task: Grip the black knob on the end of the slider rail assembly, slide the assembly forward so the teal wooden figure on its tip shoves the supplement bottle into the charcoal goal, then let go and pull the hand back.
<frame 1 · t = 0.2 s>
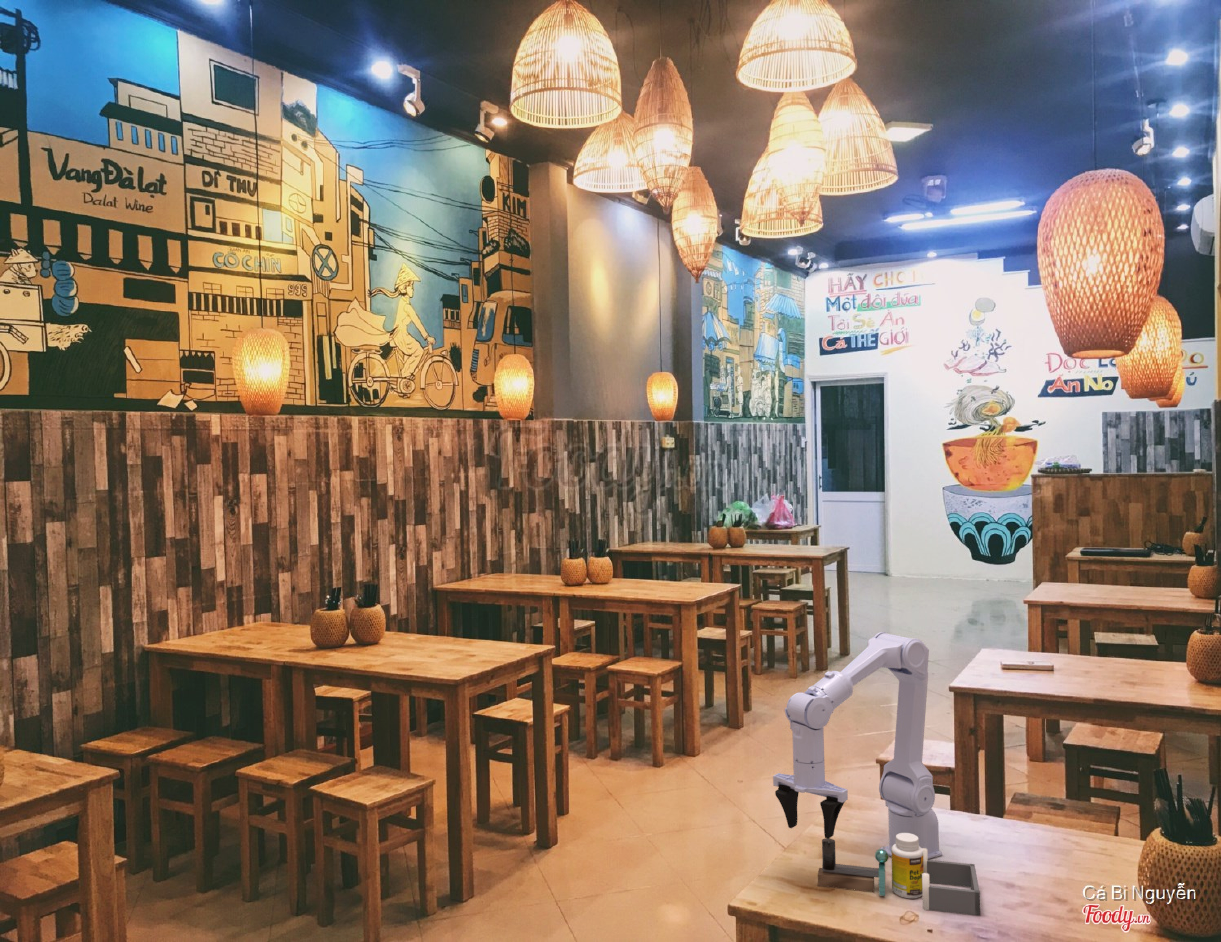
hand: (810, 831, 170), 10 cm above the table, tool pointing down, fingers open, 7 cm apart
goal: (949, 897, 164), on the table
supplement bottle: (908, 893, 166), on the table
rod guide: (829, 883, 170), on the table
slider rail assembly: (855, 863, 169), point 4 cm above the table, slide at 0.0 cm
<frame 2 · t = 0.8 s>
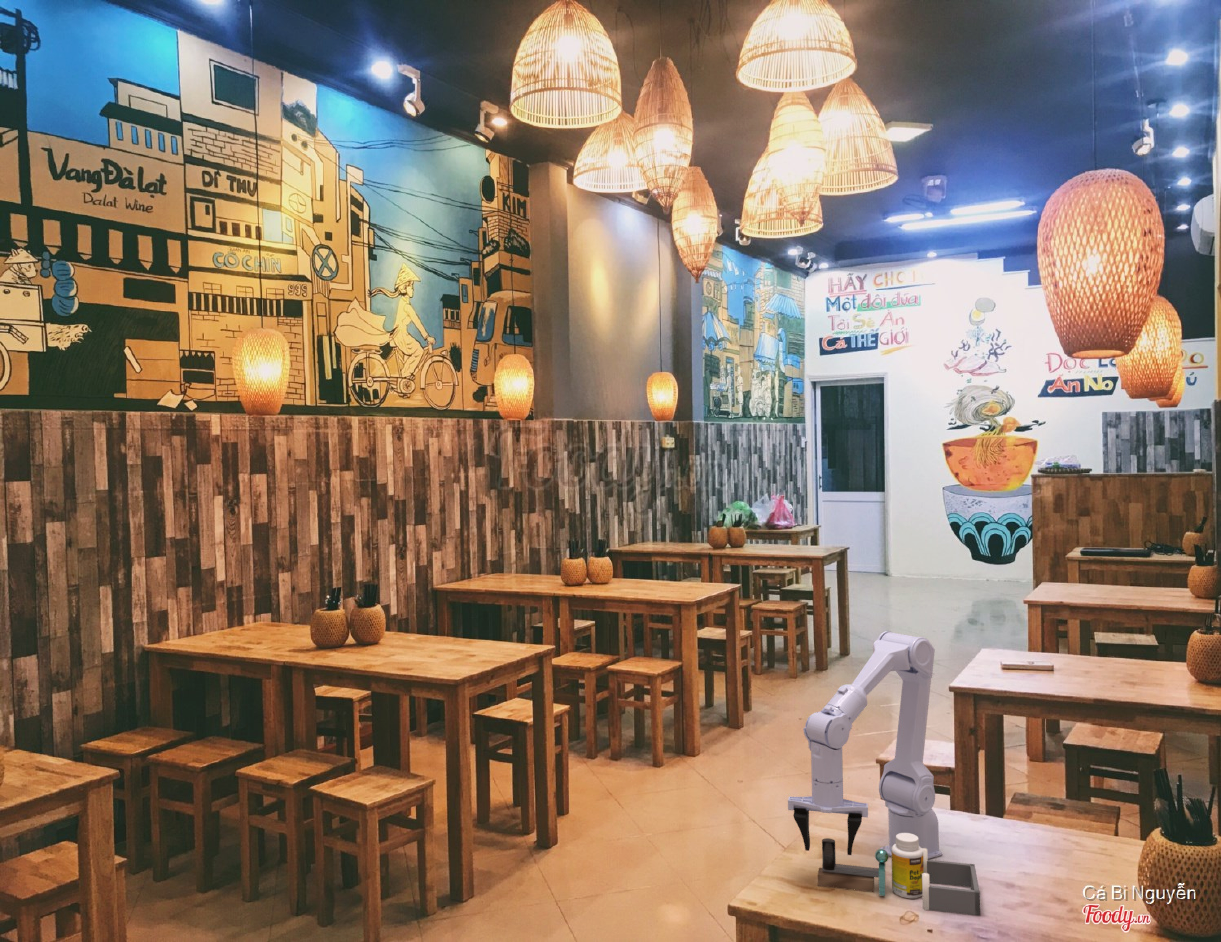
hand: (828, 850, 170), 6 cm above the table, tool pointing down, fingers open, 7 cm apart
nothing on the table moved.
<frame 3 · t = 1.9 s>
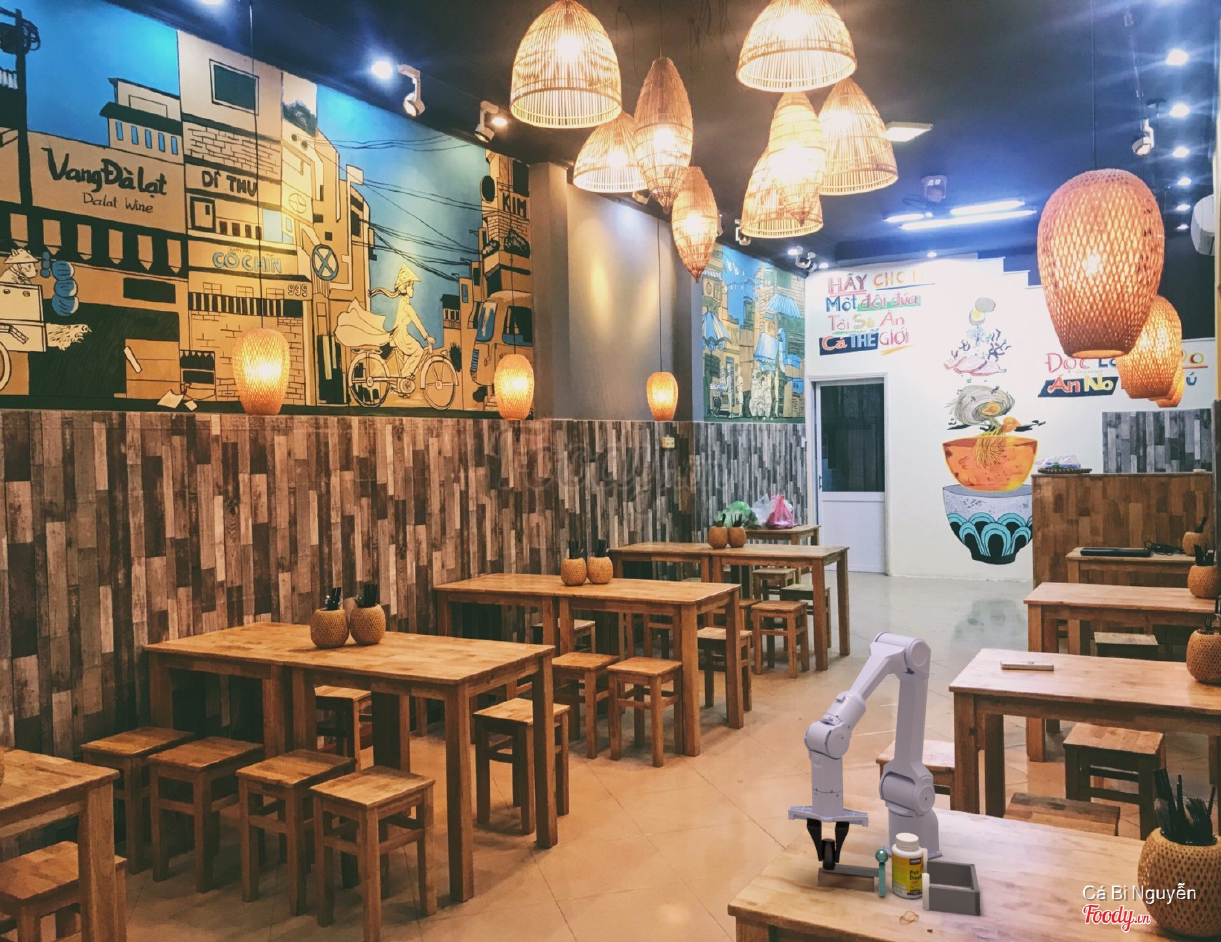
hand: (828, 860, 170), 4 cm above the table, tool pointing down, fingers closed on slider rail assembly, 2 cm apart
slider rail assembly: (855, 863, 169), point 4 cm above the table, slide at 0.0 cm, touching gripper
everything else where it was.
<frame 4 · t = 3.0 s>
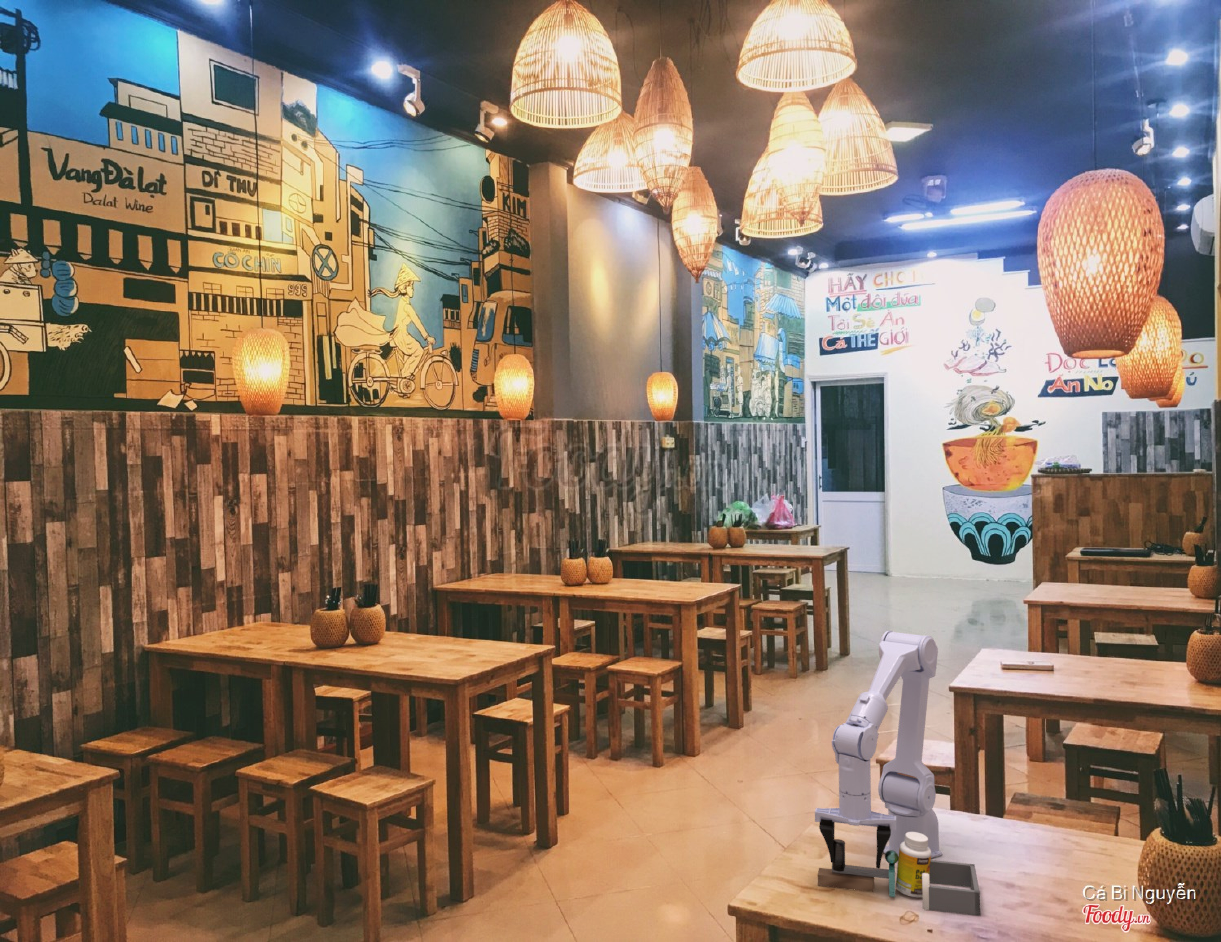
hand: (855, 863, 169), 4 cm above the table, tool pointing down, fingers open, 7 cm apart
supplement bottle: (911, 892, 166), on the table, touching slider rail assembly
slider rail assembly: (864, 864, 168), point 4 cm above the table, slide at 1.9 cm, touching supplement bottle, gripper
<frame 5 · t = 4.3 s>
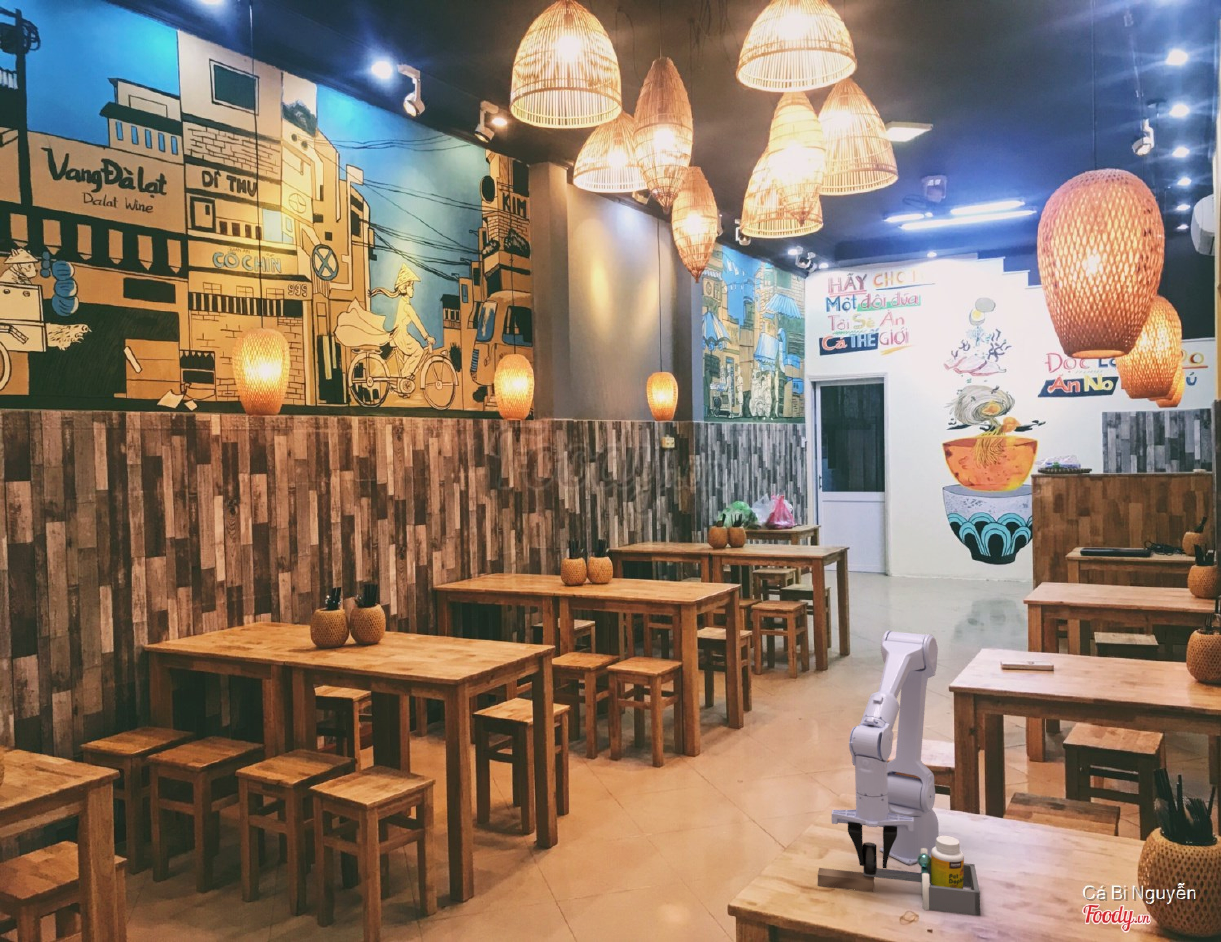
hand: (873, 864, 168), 4 cm above the table, tool pointing down, fingers open, 3 cm apart
supplement bottle: (946, 897, 164), on the table, touching slider rail assembly
slider rail assembly: (896, 868, 166), point 4 cm above the table, slide at 7.4 cm, touching supplement bottle, gripper
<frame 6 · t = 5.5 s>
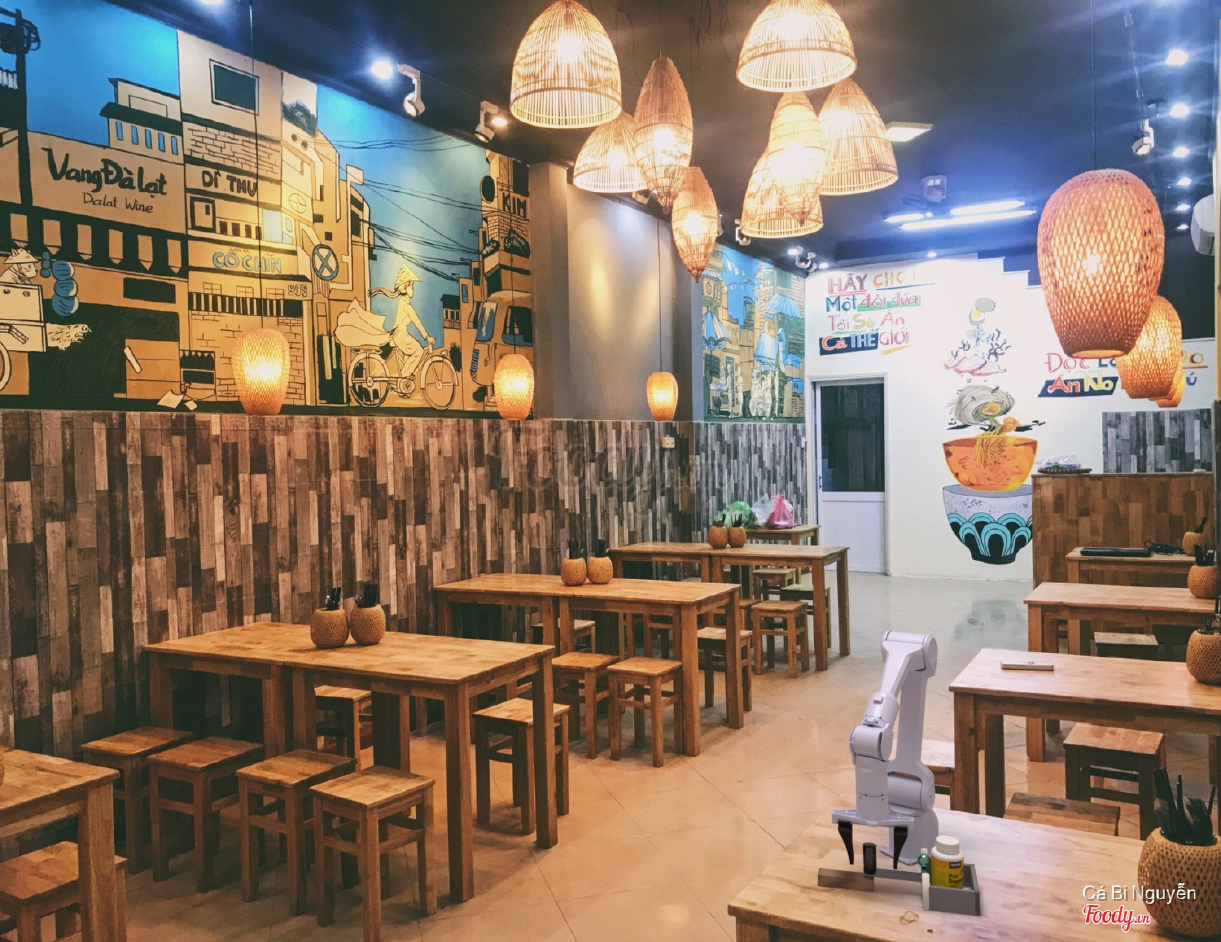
hand: (873, 864, 168), 4 cm above the table, tool pointing down, fingers open, 7 cm apart
slider rail assembly: (896, 868, 166), point 4 cm above the table, slide at 7.4 cm, touching supplement bottle
everything else where it was.
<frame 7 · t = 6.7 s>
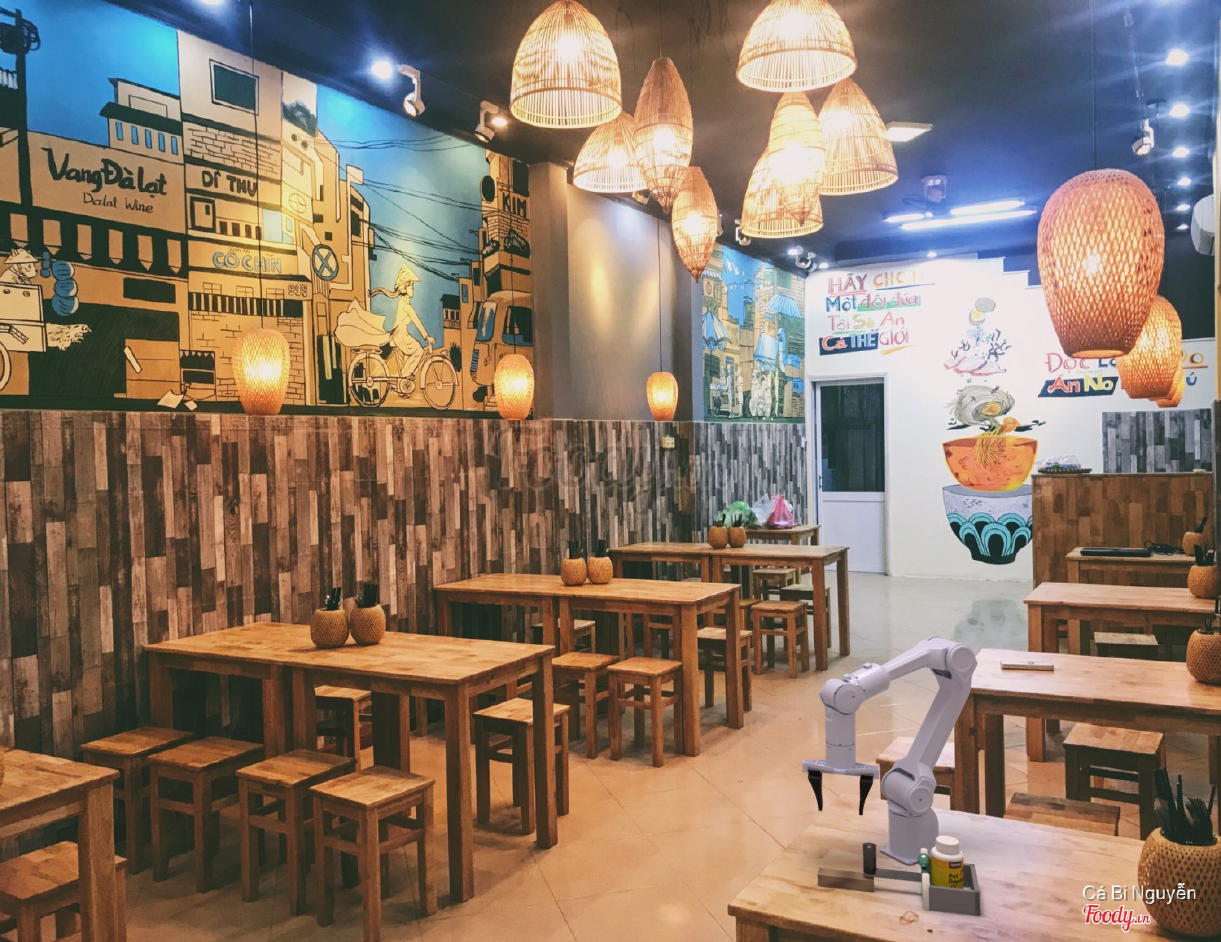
hand: (840, 811, 178), 10 cm above the table, tool pointing down, fingers open, 7 cm apart
nothing on the table moved.
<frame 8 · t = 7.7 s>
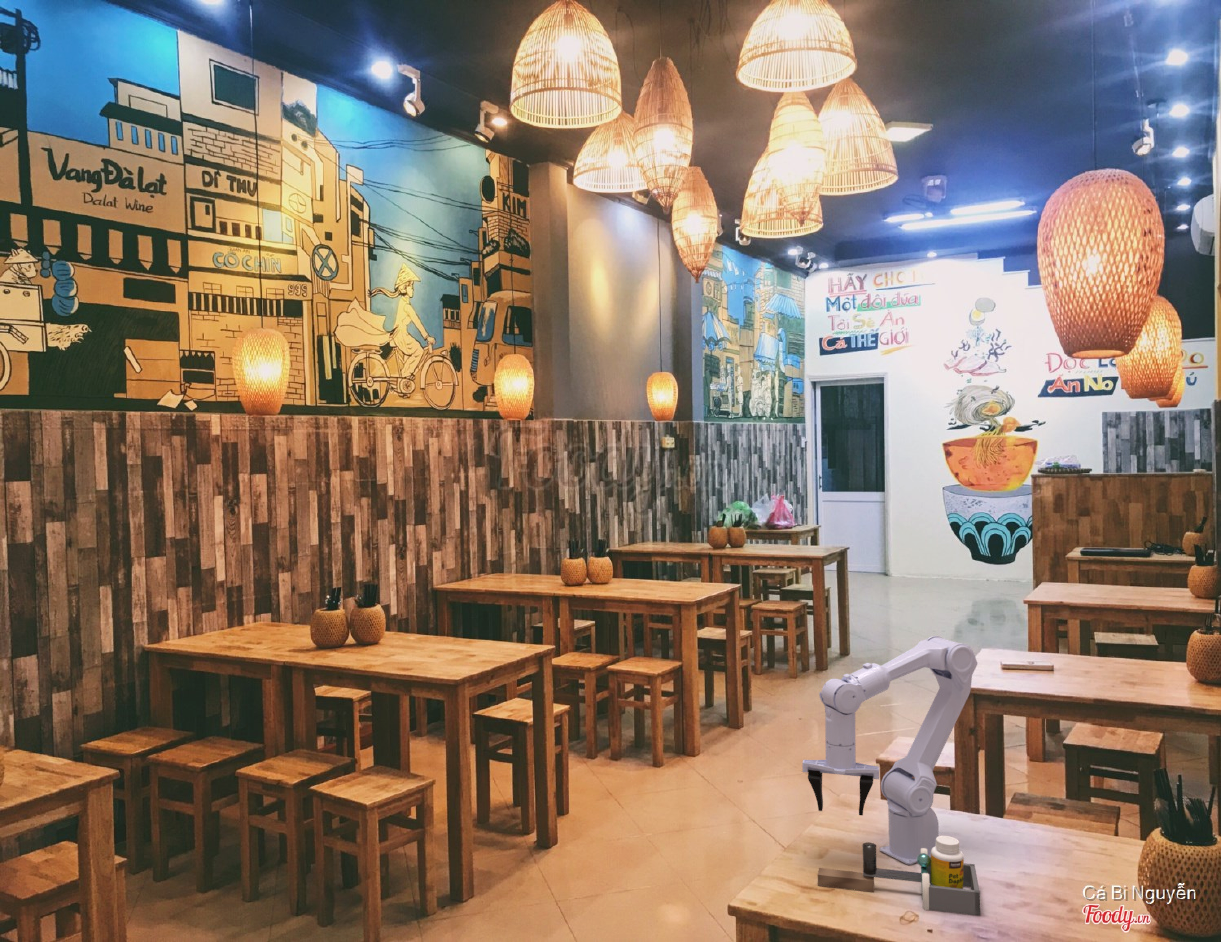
hand: (840, 811, 178), 10 cm above the table, tool pointing down, fingers open, 7 cm apart
nothing on the table moved.
at the end: supplement bottle 0.4 cm from the goal (horizontally); supplement bottle tilted 2°; slider rail assembly slide at 7.4 cm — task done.
